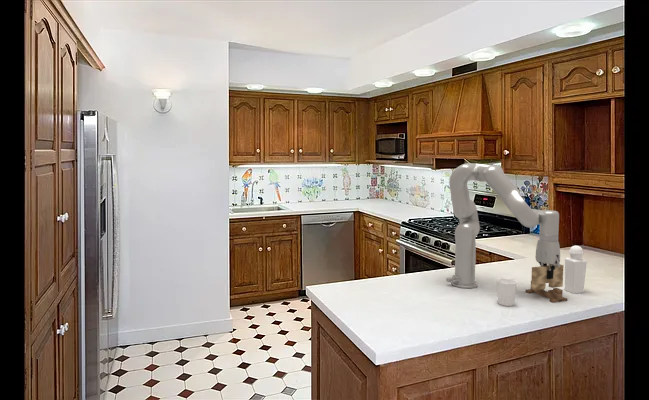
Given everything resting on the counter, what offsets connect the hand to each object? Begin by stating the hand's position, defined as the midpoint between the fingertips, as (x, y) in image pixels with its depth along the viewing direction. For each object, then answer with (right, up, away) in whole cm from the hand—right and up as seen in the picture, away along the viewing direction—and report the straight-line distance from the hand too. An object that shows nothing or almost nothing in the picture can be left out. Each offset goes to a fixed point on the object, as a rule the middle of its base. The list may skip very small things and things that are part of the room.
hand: (547, 277), depth 199 cm
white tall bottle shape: (+16, -8, +8) cm, 20 cm away
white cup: (-22, -10, -8) cm, 26 cm away
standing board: (0, -9, +1) cm, 9 cm away
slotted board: (0, -5, +1) cm, 5 cm away
